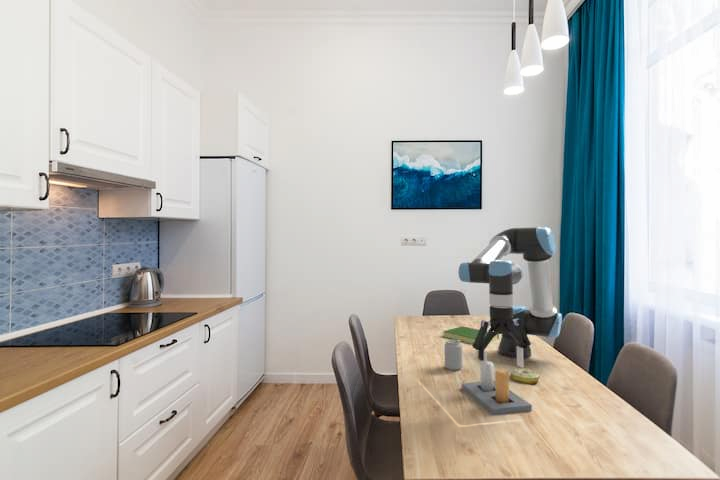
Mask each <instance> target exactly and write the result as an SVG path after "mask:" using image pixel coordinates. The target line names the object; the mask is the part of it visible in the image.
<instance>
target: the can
mask: <svg viewBox="0 0 720 480" xmlns="http://www.w3.org/2000/svg"><path fill="white" fill-rule="evenodd" d="M444 367H445V368H446V369H447V370H449V371H459V370H461V369H462V368H463V345H462V344H461V341H458V340H454V339H447V340H446V341H445V343H444Z"/></svg>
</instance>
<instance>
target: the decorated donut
mask: <svg viewBox="0 0 720 480" xmlns="http://www.w3.org/2000/svg"><path fill="white" fill-rule="evenodd" d="M510 377H511V379H512V380H514V381H516V382H519V383H522V384H528V385H534V384H537V383H538V382H539V379H540V374H539V373H538V372H536V371H534V370H532V369H528V368H524V367H522V368H515V369H512V370H511V371H510Z"/></svg>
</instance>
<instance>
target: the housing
mask: <svg viewBox="0 0 720 480" xmlns="http://www.w3.org/2000/svg"><path fill="white" fill-rule="evenodd" d="M461 389H462V390H463V391H465V393H467V394H468V395H469V396H470V397H471V398H472V399H473V400H475V401H476V402H477V403H478V404H479V405H481V407H482V408H484V410H486V411H487V412H489V413H490V414H491V415H492V416H495V415H503V414H514V413H522V412H523V413H524V412H532V409H533V408H532V407H533V406H532V404H531V403H529V402H528V401H527V400H525V399H524V398H523V397H521V396H519V395H517V393H515V392H513V391H512V390H510V389H509V403H502V404H498V403H497V402H496V401H495V380H493V391H487V392H483V391H482V390H481V381H475V382H462V383H461Z"/></svg>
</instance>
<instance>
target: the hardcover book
mask: <svg viewBox="0 0 720 480" xmlns="http://www.w3.org/2000/svg"><path fill="white" fill-rule="evenodd" d="M479 330H480V329H476V328H472V327H467V326H463V325H462V326H459V327H455V328H450V329H446V330H443V331H442V332H443V338H446V337H448V338H447V339H450V338H452V339H451V340H454V339H456V340H460V342H463V341H464V342H463V343H466V344H467V343H468V344H471V343H472V344H471V345H473V344H474V341H475V339H476V337H477V334H478V332H479ZM487 333H488V331H487V332H486V334H485V336H486V335H487ZM499 335H500V334H498V333H497V335H496V336H494V337H493V339H492V340H491V341H492V342H494V340H495V341H498V340H497V339H500V338H499V337H500V336H499ZM485 336H484V337H485Z"/></svg>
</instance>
